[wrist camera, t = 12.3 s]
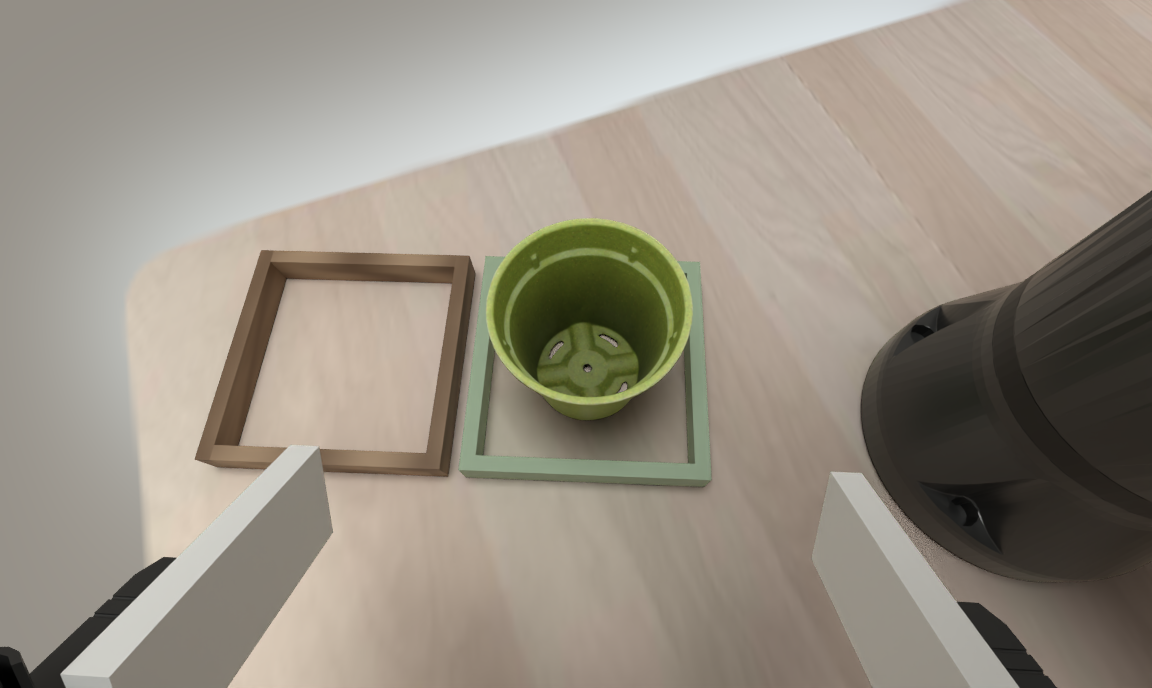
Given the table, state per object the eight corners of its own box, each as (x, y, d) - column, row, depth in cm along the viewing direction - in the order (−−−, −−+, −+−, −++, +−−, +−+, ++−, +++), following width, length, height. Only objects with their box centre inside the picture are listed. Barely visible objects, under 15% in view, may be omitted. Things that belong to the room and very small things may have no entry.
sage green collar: (694, 278, 36) (699, 262, 34) (704, 487, 30) (711, 480, 29) (490, 273, 36) (485, 256, 34) (465, 477, 31) (458, 470, 29)
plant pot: (696, 349, 34) (730, 275, 26) (614, 483, 31) (623, 445, 23) (566, 277, 36) (560, 188, 28) (478, 395, 33) (442, 332, 25)
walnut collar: (475, 272, 36) (469, 255, 34) (447, 476, 31) (439, 469, 29) (277, 267, 37) (261, 250, 35) (217, 467, 31) (194, 459, 30)
